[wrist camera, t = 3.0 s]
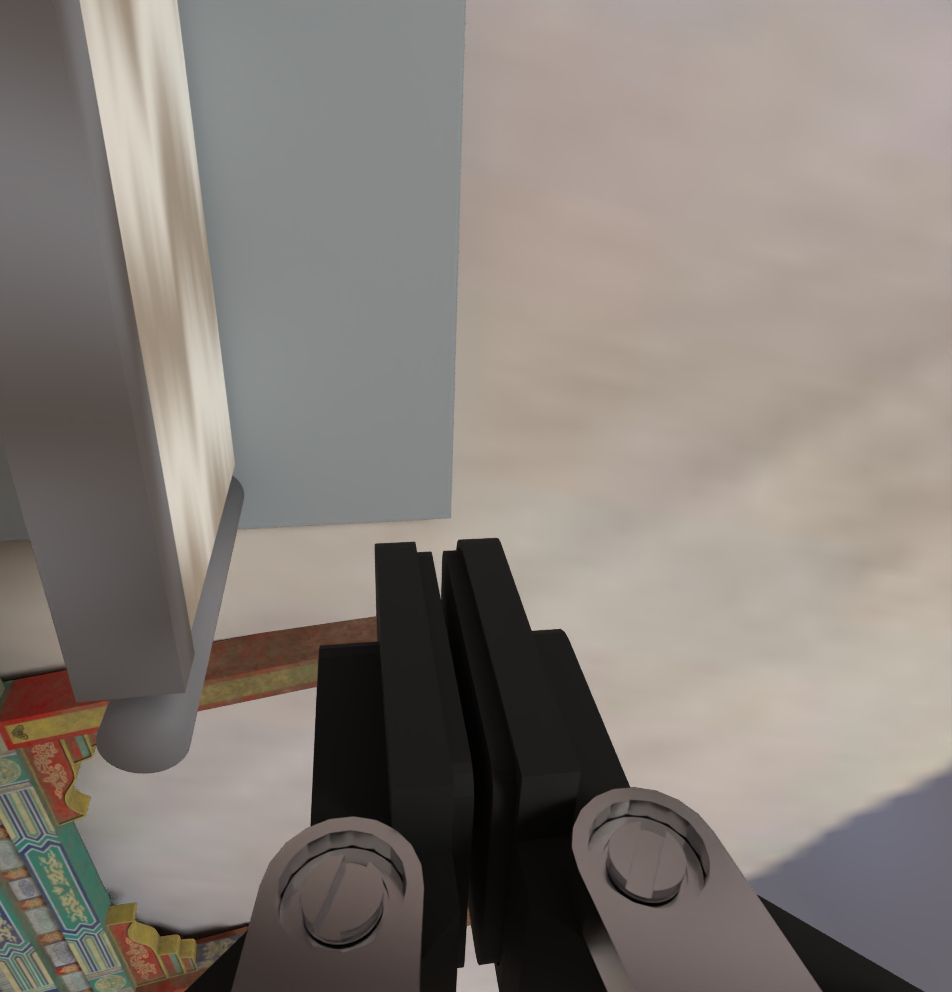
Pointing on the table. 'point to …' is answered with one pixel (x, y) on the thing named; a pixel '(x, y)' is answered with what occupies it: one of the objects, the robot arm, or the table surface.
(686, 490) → the table surface
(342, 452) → the gray panel stand
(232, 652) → the miniature gate
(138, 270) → the gate
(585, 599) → the table surface
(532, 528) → the table surface
